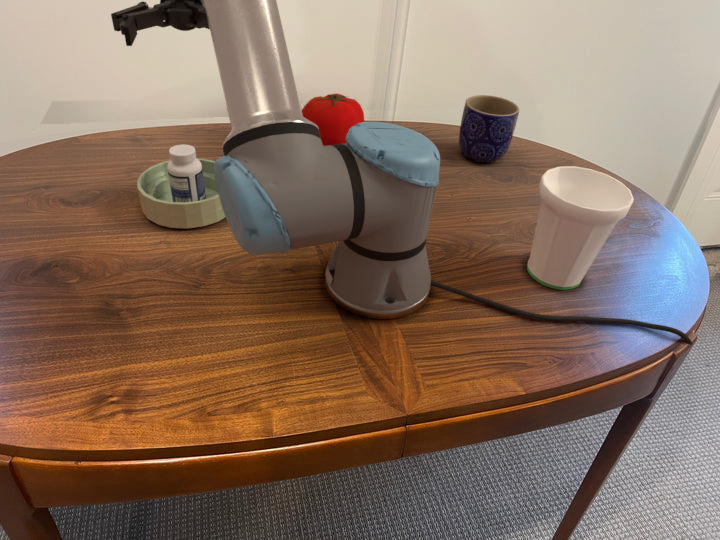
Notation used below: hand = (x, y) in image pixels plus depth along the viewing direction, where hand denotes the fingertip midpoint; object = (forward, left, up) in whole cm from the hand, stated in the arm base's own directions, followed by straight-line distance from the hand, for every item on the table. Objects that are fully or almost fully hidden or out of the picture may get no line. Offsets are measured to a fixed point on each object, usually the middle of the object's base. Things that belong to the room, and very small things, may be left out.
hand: (174, 37), depth 82 cm
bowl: (-6, +6, -25) cm, 26 cm away
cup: (-62, -17, -25) cm, 69 cm away
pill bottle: (-6, +6, -24) cm, 26 cm away
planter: (-36, -47, -25) cm, 64 cm away
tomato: (-11, -27, -25) cm, 38 cm away
